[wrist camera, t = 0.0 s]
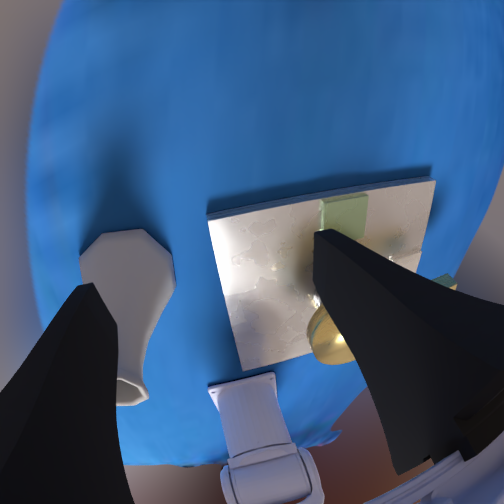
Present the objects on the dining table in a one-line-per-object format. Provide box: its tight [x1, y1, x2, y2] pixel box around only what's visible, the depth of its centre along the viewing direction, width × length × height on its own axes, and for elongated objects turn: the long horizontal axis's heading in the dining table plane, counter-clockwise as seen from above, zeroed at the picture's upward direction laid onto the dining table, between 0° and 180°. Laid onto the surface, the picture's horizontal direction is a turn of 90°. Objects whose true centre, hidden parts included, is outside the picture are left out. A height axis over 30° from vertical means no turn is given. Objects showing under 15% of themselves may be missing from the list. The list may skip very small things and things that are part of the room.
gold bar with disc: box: [306, 273, 457, 365], centre depth 23 cm, size 15×8×5 cm, turn 96°
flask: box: [79, 229, 176, 406], centre depth 16 cm, size 7×7×10 cm
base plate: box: [206, 176, 436, 371], centre depth 24 cm, size 18×19×4 cm
